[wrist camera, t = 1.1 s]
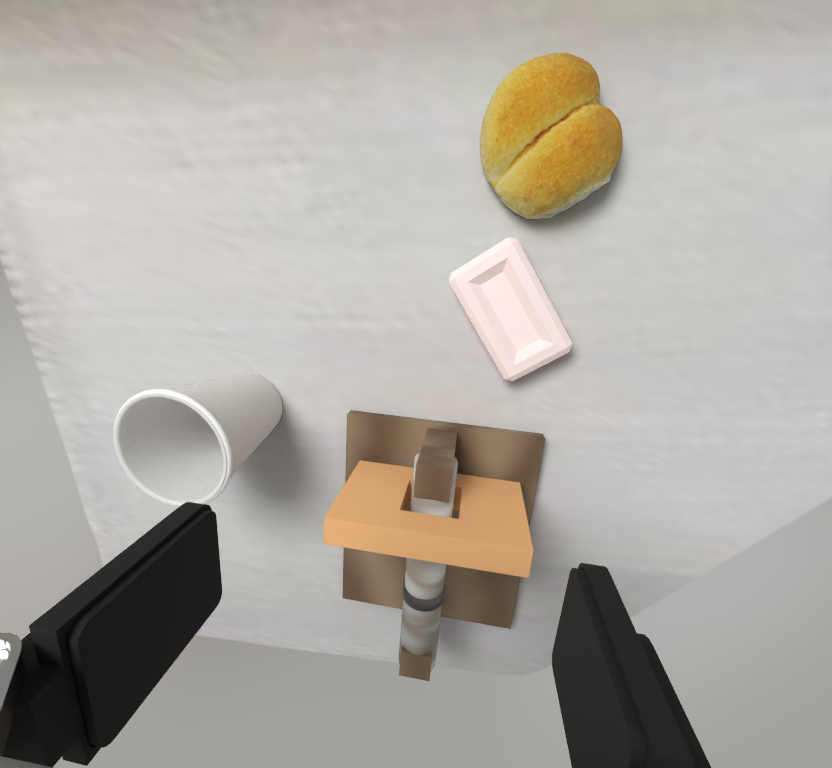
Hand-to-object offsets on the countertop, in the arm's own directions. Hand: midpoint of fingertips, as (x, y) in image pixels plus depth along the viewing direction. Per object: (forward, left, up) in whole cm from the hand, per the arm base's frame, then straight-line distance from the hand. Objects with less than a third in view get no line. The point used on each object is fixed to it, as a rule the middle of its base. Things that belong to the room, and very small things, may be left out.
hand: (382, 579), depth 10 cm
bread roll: (-5, -16, -23) cm, 28 cm away
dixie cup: (+17, +5, -23) cm, 29 cm away
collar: (0, +9, -20) cm, 22 cm away
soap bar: (-4, -5, -23) cm, 24 cm away
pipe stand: (0, +14, -23) cm, 26 cm away
